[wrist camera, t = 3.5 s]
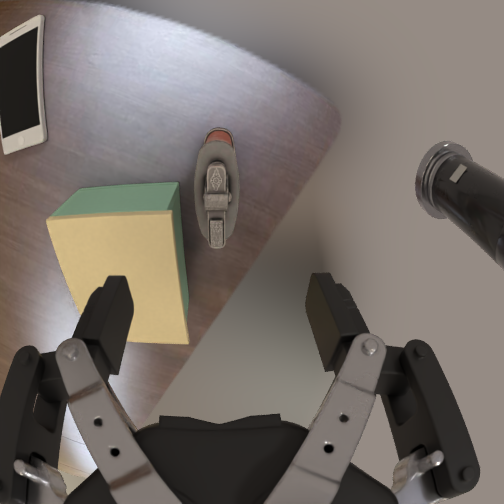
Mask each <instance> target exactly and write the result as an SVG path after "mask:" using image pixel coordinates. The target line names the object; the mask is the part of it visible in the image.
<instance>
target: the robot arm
mask: <svg viewBox="0 0 504 504" xmlns="http://www.w3.org/2000/svg"><path fill="white" fill-rule="evenodd" d="M428 196H429V200H430V203H431V204H432V206H433V207H434V208H435V209H436V210H437V211H439V212H440V213H442V214H443V215H445V216H446V217H447V218H448V219H450V220H451V221H452V222H453V223H454V224H455V225H456V226H458V227H459V228H460V229H461V230H462V231H463V232H464V233H466V234H467V235H468V236H469V237H470V238H471V239H472V240H473V241H475V242H476V243H477V244H478V245H479V246H480V247H481V248H482V249H483V250H484V251H485V252H486V253H487V254H488V255H489V256H490V257H491V258H492V259H493V260H494V261H495V262H496V263H497V264H498V265H499V266H500V267H501V268H502V269H503V270H504V179H503V178H502V177H500V176H498V175H497V174H495V173H493V172H492V171H490V170H488V169H486V168H484V167H483V166H481V165H479V164H477V163H475V162H473V161H472V160H470V159H468V158H466V157H465V156H463V155H461V154H459V153H455V152H452V153H448V154H446V155H444V156H443V157H441V158H440V159H439V161H438V162H437V163H436V164H435V166H434V168H433V170H432V172H431V175H430V178H429V182H428ZM305 304H306V305H305V307H306V313H307V316H308V319H309V322H310V325H311V328H312V331H313V334H314V338H315V341H316V344H317V347H318V350H319V354H320V357H321V360H322V363H323V367H324V369H325V372H328V371H334V373H335V379H334V380H333V382H332V384H331V386H330V389H329V390H328V393H327V394H326V396H325V398H324V400H323V402H322V404H321V406H320V408H319V410H318V412H317V413H316V415H315V417H314V419H313V420H312V422H311V424H310V425H309V427H308V429H306V428H305V427H302V426H300V425H298V424H295V423H291V422H288V421H281V417H280V414H270V415H257V416H249V417H245V418H242V419H238V420H234V421H231V422H227V423H223V424H215V423H211V422H207V421H202V420H198V419H194V418H191V417H177V416H160V417H159V423H154V424H151V425H148V426H146V427H143V428H141V429H140V430H138V429H137V428H136V426H135V425H134V424H133V422H132V421H131V419H130V418H129V417H128V415H127V413H126V412H125V410H124V408H123V407H122V405H121V403H120V402H119V400H118V398H117V396H116V395H115V393H114V391H113V389H112V387H111V386H110V384H109V382H108V379H109V375H110V374H112V375H119V370H120V366H121V361H122V357H123V353H124V349H125V345H126V341H127V337H128V333H129V330H130V326H131V322H132V319H133V315H134V303H133V299H132V295H131V292H130V289H129V285H128V281H127V278H126V276H124V275H109V276H108V277H107V279H106V281H105V283H104V285H103V287H98V288H97V289H96V290H95V291H94V292H93V293H92V294H91V295H90V297H89V299H88V301H87V305H86V306H85V308H84V312H82V315H81V317H80V319H79V322H78V324H77V326H76V329H75V331H74V334H73V336H72V338H70V339H67V340H65V341H63V342H62V343H61V344H60V345H59V346H58V348H57V350H56V351H54V352H48V353H42V354H40V353H39V351H38V350H37V349H36V348H35V347H34V346H24V347H22V348H21V349H19V350H18V351H17V353H16V354H15V356H14V359H13V361H12V364H11V367H10V369H9V372H8V375H7V378H6V381H5V384H4V387H3V390H2V393H1V397H0V504H436V503H439V502H442V501H445V500H448V499H451V498H453V497H456V496H459V495H461V494H464V493H466V492H468V491H470V490H472V489H473V488H474V487H475V486H476V484H477V482H478V480H479V477H480V467H479V464H478V460H477V457H476V454H475V450H474V447H473V444H472V441H471V439H470V436H469V433H468V430H467V427H466V425H465V422H464V420H463V417H462V414H461V412H460V409H459V407H458V405H457V402H456V400H455V397H454V395H453V393H452V390H451V388H450V386H449V384H448V381H447V379H446V377H445V375H444V373H443V371H442V368H441V366H440V364H439V362H438V360H437V358H436V356H435V354H434V352H433V350H432V348H431V347H430V346H429V345H428V344H427V343H425V342H424V341H421V340H416V339H415V340H411V341H409V342H408V343H407V344H406V346H405V347H404V348H402V347H392V346H387V345H385V343H384V342H383V341H382V340H381V339H380V338H379V337H378V336H376V335H373V334H370V332H369V330H368V328H367V326H366V324H365V322H364V320H363V318H362V316H361V314H360V312H359V310H358V308H357V306H356V304H355V302H354V301H353V298H352V296H351V294H350V292H349V291H348V290H347V289H346V288H345V287H344V286H343V285H342V284H335V282H334V280H333V278H332V276H331V274H330V273H312V275H311V278H310V283H309V287H308V292H307V296H306V302H305ZM37 394H38V395H37ZM376 394H380V395H381V398H382V402H383V405H384V408H385V411H386V415H387V418H388V421H389V424H390V428H391V432H392V435H393V439H394V442H395V446H396V450H397V453H398V457H399V462H398V463H397V465H396V466H395V469H394V472H393V486H392V488H391V490H390V489H389V488H388V487H386V486H385V485H383V484H382V483H380V482H379V481H377V480H376V479H374V478H372V477H371V476H369V475H368V474H367V473H365V472H364V471H363V470H361V469H359V468H358V467H357V466H355V465H354V464H353V463H351V462H350V461H351V458H352V456H353V454H354V452H355V450H356V447H357V445H358V443H359V441H360V438H361V436H362V433H363V431H364V429H365V426H366V423H367V421H368V418H369V416H370V413H371V410H372V407H373V405H374V402H375V399H376ZM36 396H37V399H36ZM35 400H36V403H35ZM34 404H35V408H34ZM67 404H68V407H69V409H70V412H71V414H72V416H73V419H74V421H75V423H76V425H77V428H78V430H79V432H80V434H81V436H82V438H83V440H84V442H85V444H86V446H87V448H88V450H89V452H90V454H91V456H92V458H93V460H94V461H95V463H96V465H97V467H98V468H97V469H96V470H95V471H94V472H93V473H92V474H91V475H90V476H89V477H88V478H87V479H85V481H83V482H82V483H81V484H80V485H79V486H78V487H77V488H76V489H75V490H74V491H72V492H71V493H70V494H69V495H67V493H66V484H65V483H64V480H63V477H62V475H61V474H60V472H59V471H58V459H59V450H60V442H61V435H62V428H63V422H64V416H65V411H66V406H67ZM33 408H34V412H33Z"/></svg>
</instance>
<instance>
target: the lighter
mask: <svg viewBox="0 0 504 504" xmlns="http://www.w3.org/2000/svg"><path fill="white" fill-rule="evenodd" d="M239 196H240V192H239V173H238V167H237V161H236V153H235V147H234V141H233V136H232V134H231V132H230V131H229V130H227V129H225V128H214V129H212V130H210V131H209V132H208V133H207V135H206V137H205V141H204V146H203V147H202V148H201V150H200V152H199V155H198V160H197V166H196V171H195V182H194V200H195V209H196V216H197V219H198V223H199V227H200V231H201V233H202V235H203V236H204V237H205V238H206V239H208V241H209V246H210V247H212V248H222V247H224V245H225V240H226V239H228V238H229V237H230V236H231V235H232V233H233V231H234V226H235V222H236V218H237V214H238V205H239Z"/></svg>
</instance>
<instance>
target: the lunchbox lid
mask: <svg viewBox="0 0 504 504" xmlns="http://www.w3.org/2000/svg"><path fill="white" fill-rule="evenodd" d="M46 223H47V226H48V230H49V233H50V236H51V240H52V243H53V246H54V249H55V252H56V255H57V258H58V261H59V264H60V266H61V269H62V272H63V274H64V277H65V280H66V282H67V285H68V287H69V290H70V292H71V294H72V297H73V299H74V301H75V304H76V306H77V308H78V310H79V313H80V315H82V312H84V308H85V306H86V305H87V301H88V299H89V297H90V295H91V294H92V293H93V292H94V291H95V290H96V289H97V288H98V287H103V285H104V283H105V281H106V279H107V277H108V276H109V275H124V276H126V278H127V281H128V285H129V289H130V292H131V295H132V299H133V303H134V315H133V319H132V322H131V326H130V330H129V333H128V337H127V341H129V342H145V343H167V344H189V335H188V329H187V323H186V317H185V310H184V304H183V297H182V290H181V283H180V275H179V267H178V259H177V250H176V241H175V231H174V220H173V211H172V210H165V211H135V212H112V213H94V214H78V215H64V216H51V217H49V218H48V219H47V220H46Z"/></svg>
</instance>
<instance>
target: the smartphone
mask: <svg viewBox="0 0 504 504" xmlns="http://www.w3.org/2000/svg"><path fill="white" fill-rule="evenodd" d="M44 20H45V18H44V16H43V15H38V16H36V17H34V18H32V19H30V20H29V21H27V22H25V23H23V24H21V25H20V26H18V27H16V28H14V29H13V30H11V31H10V32H8V33H6V34H5V35H3V36H2V37H0V131H1V138H2V145H3V151H4V154H9V153H12V152H14V151H17V150H20V149H23V148H26V147H29V146H32V145H35V144H39V143H42V142H44V141H46V140H47V129H46V120H45V110H44V98H43V76H42V52H43V32H44Z"/></svg>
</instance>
